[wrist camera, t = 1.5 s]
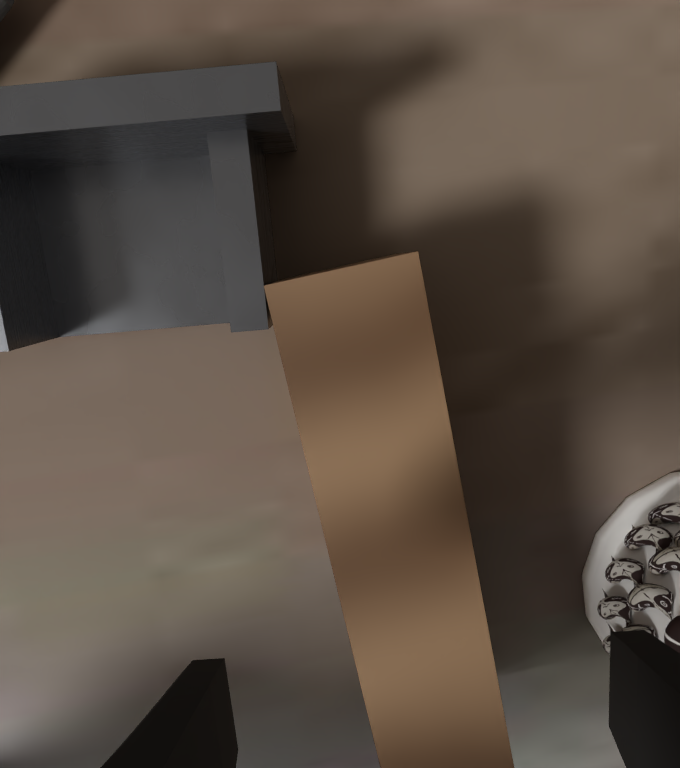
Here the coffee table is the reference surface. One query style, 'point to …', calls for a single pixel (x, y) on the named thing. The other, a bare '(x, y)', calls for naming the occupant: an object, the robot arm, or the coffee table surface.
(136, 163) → the bracket
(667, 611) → the decorative candle
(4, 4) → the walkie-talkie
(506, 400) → the coffee table surface
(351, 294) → the brown long rectangular block
